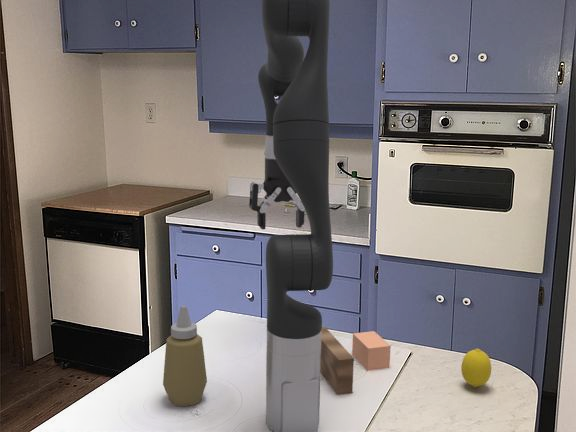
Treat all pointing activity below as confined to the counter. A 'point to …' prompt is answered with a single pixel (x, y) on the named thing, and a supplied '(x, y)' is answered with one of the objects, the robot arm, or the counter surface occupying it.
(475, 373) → the lemon
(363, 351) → the terracotta block
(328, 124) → the robot arm
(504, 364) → the counter surface
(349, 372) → the walnut plank
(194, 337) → the squeeze bottle
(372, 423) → the counter surface
